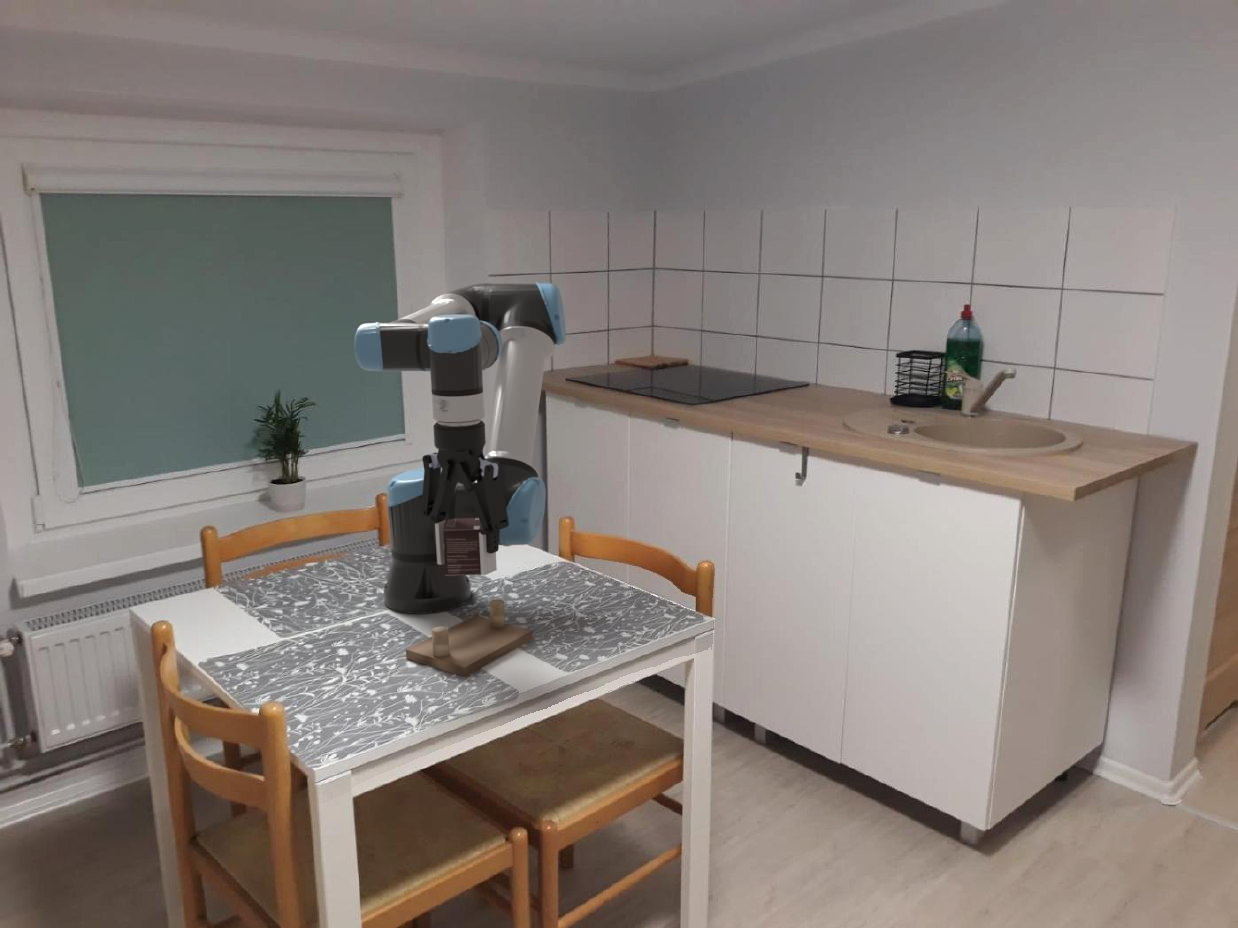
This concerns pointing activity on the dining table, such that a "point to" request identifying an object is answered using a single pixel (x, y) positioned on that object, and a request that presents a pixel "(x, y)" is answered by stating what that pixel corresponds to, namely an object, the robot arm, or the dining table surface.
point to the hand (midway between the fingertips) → (466, 566)
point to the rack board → (470, 642)
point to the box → (462, 546)
